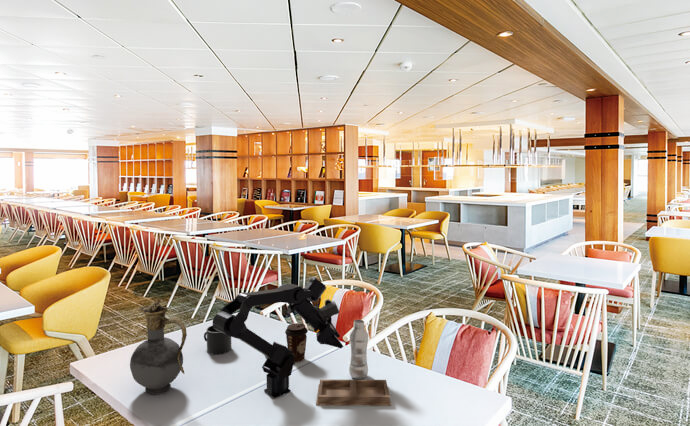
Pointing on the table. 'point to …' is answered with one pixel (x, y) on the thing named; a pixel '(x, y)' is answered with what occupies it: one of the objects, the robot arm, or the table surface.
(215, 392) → the table surface
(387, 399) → the wooden divided tray
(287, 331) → the coffee cup
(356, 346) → the silver metal bottle
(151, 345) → the pitcher
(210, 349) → the mug
